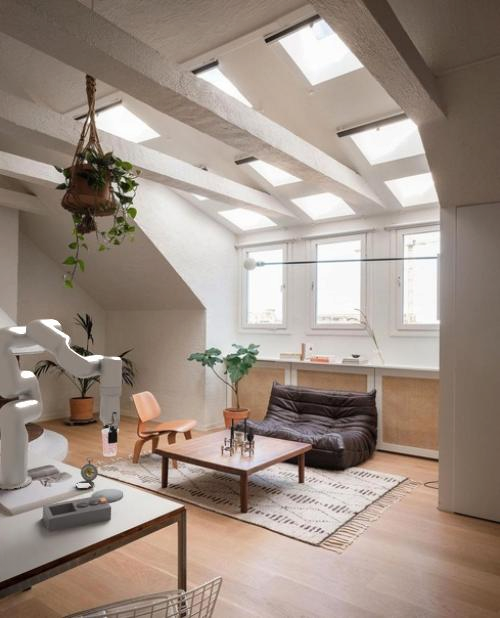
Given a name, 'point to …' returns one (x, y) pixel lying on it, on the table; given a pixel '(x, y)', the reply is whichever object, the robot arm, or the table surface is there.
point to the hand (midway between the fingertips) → (109, 440)
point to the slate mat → (109, 494)
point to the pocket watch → (89, 473)
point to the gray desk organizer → (76, 513)
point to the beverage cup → (108, 448)
